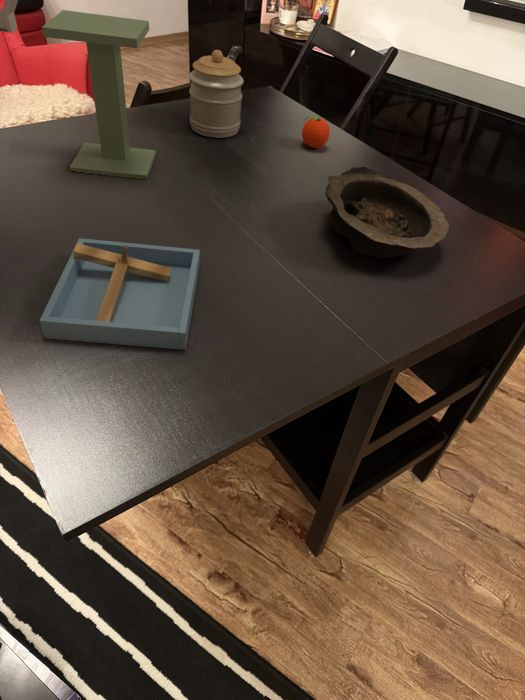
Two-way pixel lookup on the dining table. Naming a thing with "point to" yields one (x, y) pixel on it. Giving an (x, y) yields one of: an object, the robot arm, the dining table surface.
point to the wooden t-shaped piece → (118, 273)
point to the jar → (215, 96)
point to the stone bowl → (382, 214)
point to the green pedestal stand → (106, 90)
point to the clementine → (315, 132)
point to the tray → (125, 299)
